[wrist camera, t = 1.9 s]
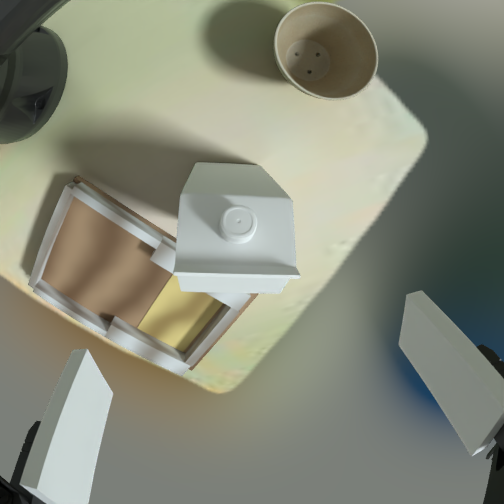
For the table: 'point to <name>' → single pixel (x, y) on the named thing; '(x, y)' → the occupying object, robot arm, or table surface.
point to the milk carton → (234, 231)
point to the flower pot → (325, 51)
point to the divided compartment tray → (127, 281)
